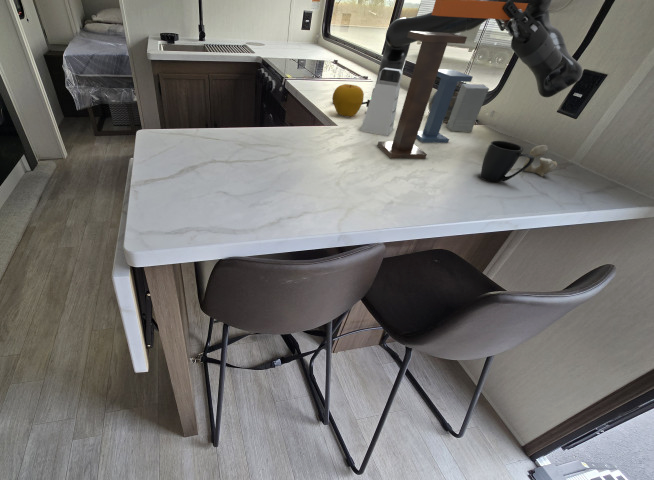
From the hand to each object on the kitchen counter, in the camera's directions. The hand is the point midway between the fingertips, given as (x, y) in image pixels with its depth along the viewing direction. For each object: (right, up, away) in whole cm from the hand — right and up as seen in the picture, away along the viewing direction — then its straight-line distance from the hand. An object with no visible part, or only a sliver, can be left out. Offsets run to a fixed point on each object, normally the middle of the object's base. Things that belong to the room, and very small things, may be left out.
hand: (500, 3), depth 91 cm
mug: (+5, -45, +9) cm, 46 cm away
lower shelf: (-1, -19, +37) cm, 42 cm away
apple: (-28, -1, +56) cm, 63 cm away
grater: (-19, -14, +42) cm, 48 cm away
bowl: (+15, -1, +59) cm, 61 cm away
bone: (+22, -40, +16) cm, 48 cm away
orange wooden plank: (-6, -3, +1) cm, 7 cm away
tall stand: (-17, -30, +24) cm, 42 cm away
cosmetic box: (+16, -11, +47) cm, 51 cm away
